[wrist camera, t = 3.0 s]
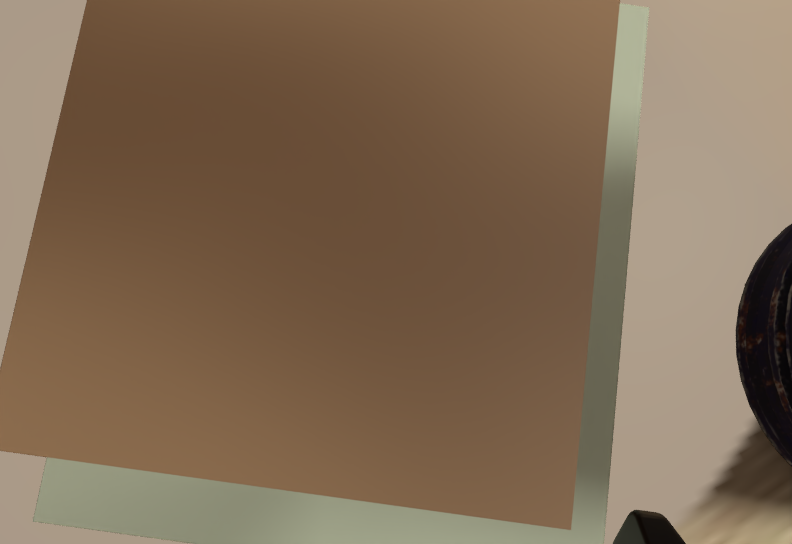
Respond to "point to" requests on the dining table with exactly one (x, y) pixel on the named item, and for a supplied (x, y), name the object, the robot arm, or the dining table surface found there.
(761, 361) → the storage jar
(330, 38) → the wooden block
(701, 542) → the dining table surface
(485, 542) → the square socket block
